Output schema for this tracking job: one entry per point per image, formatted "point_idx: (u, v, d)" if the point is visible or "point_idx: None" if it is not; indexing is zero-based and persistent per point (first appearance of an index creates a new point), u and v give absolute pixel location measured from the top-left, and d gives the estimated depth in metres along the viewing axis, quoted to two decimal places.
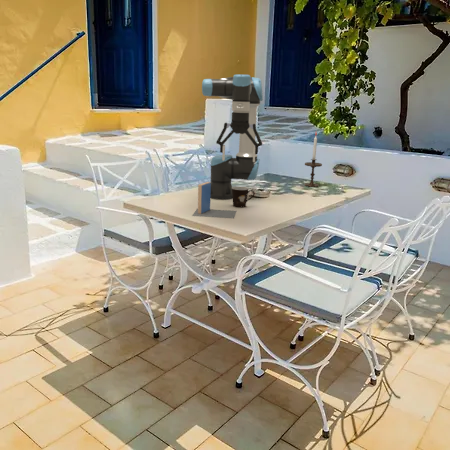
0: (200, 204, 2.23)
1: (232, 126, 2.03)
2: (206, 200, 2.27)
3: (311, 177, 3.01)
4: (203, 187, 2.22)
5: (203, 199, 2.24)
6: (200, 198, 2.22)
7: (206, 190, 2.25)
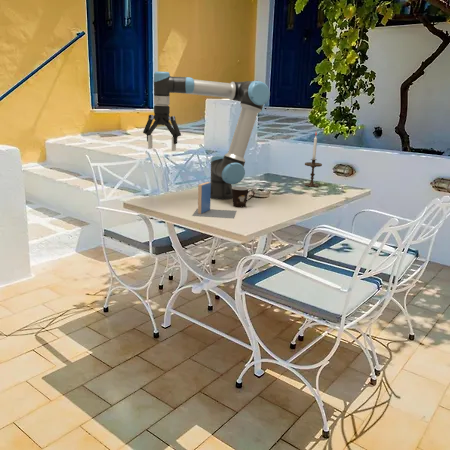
0: (200, 204, 2.23)
1: (155, 118, 2.27)
2: (206, 200, 2.27)
3: (311, 177, 3.01)
4: (203, 187, 2.22)
5: (203, 199, 2.24)
6: (200, 198, 2.22)
7: (206, 190, 2.25)
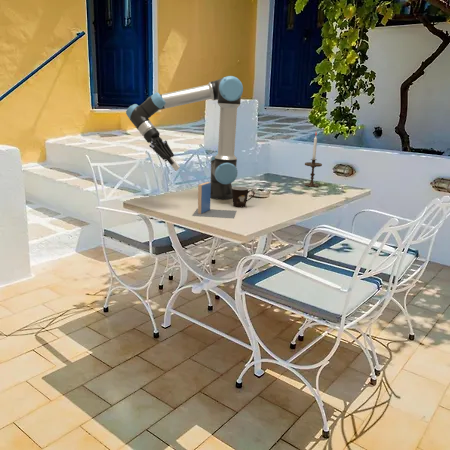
0: (200, 204, 2.23)
1: None
2: (206, 200, 2.27)
3: (311, 177, 3.01)
4: (203, 187, 2.22)
5: (203, 199, 2.24)
6: (200, 198, 2.22)
7: (206, 190, 2.25)
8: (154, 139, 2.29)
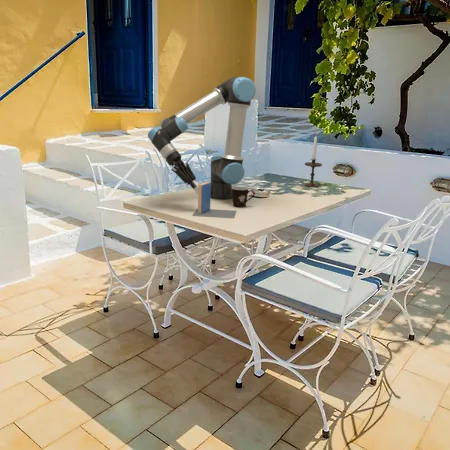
0: (200, 204, 2.23)
1: None
2: (206, 200, 2.27)
3: (311, 177, 3.01)
4: (203, 187, 2.22)
5: (203, 199, 2.24)
6: (200, 198, 2.22)
7: (206, 190, 2.25)
8: (176, 162, 2.26)
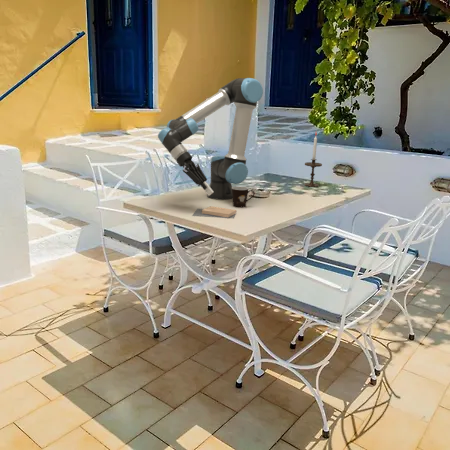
0: (210, 213, 2.22)
1: None
2: None
3: (311, 177, 3.01)
4: None
5: None
6: (215, 214, 2.21)
7: None
8: (187, 163, 2.23)
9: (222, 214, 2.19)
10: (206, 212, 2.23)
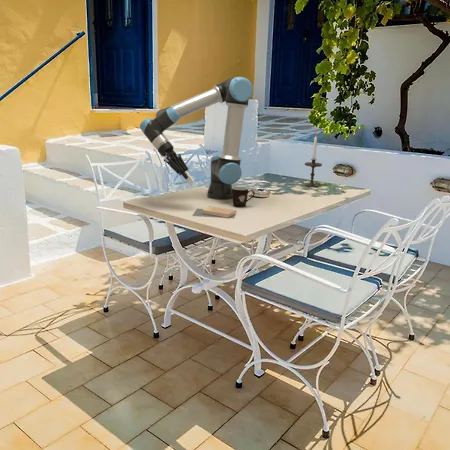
0: (210, 213, 2.22)
1: None
2: None
3: (311, 177, 3.01)
4: None
5: None
6: (215, 214, 2.21)
7: None
8: (168, 153, 2.27)
9: (222, 214, 2.19)
10: (206, 212, 2.23)
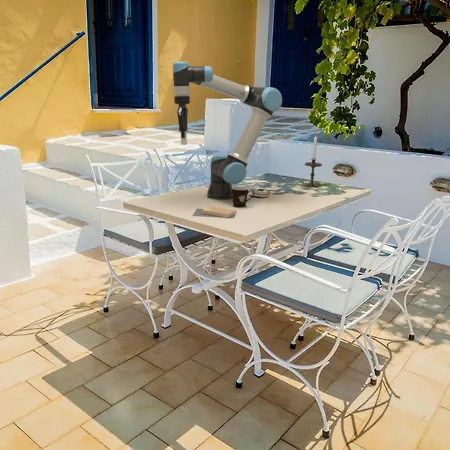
0: (210, 213, 2.22)
1: None
2: None
3: (311, 177, 3.01)
4: None
5: None
6: (215, 214, 2.21)
7: None
8: (183, 107, 2.25)
9: (222, 214, 2.19)
10: (206, 212, 2.23)
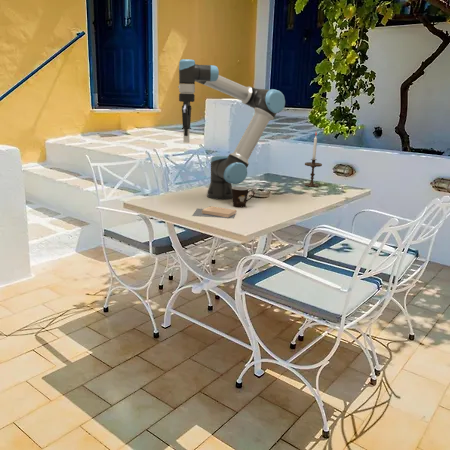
0: (210, 213, 2.22)
1: None
2: None
3: (311, 177, 3.01)
4: None
5: None
6: (215, 214, 2.21)
7: None
8: (188, 105, 2.25)
9: (222, 214, 2.19)
10: (206, 212, 2.23)
